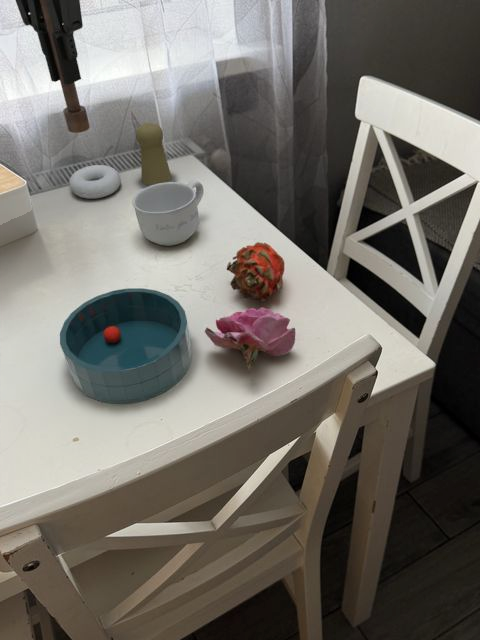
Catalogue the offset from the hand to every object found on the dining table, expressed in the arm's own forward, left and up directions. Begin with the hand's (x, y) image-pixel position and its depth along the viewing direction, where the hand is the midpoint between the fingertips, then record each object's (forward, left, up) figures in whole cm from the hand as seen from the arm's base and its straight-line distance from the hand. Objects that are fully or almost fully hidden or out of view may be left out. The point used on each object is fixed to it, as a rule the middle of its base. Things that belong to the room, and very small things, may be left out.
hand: (66, 79), depth 89 cm
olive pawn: (-4, +20, -27) cm, 34 cm away
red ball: (+22, -22, -25) cm, 39 cm away
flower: (+40, -14, -27) cm, 50 cm away
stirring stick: (0, 0, -7) cm, 7 cm away
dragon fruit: (+33, -1, -27) cm, 42 cm away
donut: (-12, +11, -27) cm, 31 cm away
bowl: (+26, -23, -26) cm, 44 cm away
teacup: (+12, +6, -27) cm, 30 cm away
